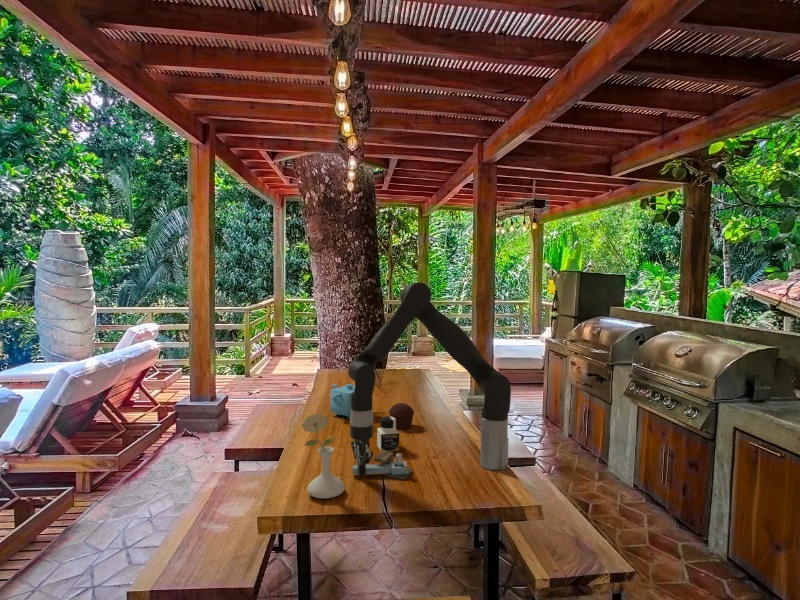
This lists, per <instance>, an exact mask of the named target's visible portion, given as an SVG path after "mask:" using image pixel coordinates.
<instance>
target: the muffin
mask: <svg viewBox="0 0 800 600" xmlns="http://www.w3.org/2000/svg"><path fill="white" fill-rule="evenodd" d="M388 414H389V416H391V417H394V418H395V419H396V429H397V430H401V429H402V430H409V429H410V428H411V427H412V425H413V420H414V414H415V411H414V409H413V408H412V406H411V405H409V404H408V403H404V402H398V403H395V404H393V405H392V406H391V407H390V408H389V410H388Z"/></svg>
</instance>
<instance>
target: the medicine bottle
mask: <svg viewBox="0 0 800 600" xmlns="http://www.w3.org/2000/svg"><path fill="white" fill-rule="evenodd" d="M379 420H380V421H379V422H380V423H379V427H377V428H376V434H377V435H376V446H377V447H378V449H379V451H380V453H381V452H382V451H387V452H395V451H399V450H400V432H399V431H398V429H396V419H395V418H394V417H391V416H390V415H389V416H387V415H385V416H383V417H381V418H380V419H379Z"/></svg>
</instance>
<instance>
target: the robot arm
mask: <svg viewBox="0 0 800 600" xmlns="http://www.w3.org/2000/svg"><path fill="white" fill-rule="evenodd" d="M399 299H400V302H401V303H400V305H399V306H398V307H397V309H396V311H395V312H394V313H393V315H392V316H391V317H390V318H389V319H388V320H387V321H386V322H385V323H384V324H383V326H382V327H380V329H379V330H378V331H377V332H376V334H375V335H374V336H373V338H372V339H371V340H370V342H369V343H368V345H367V347H366V348H365V349H363V350H362V351H361V352H360V353H359V354H358V355H357V356H356V357H355V358H354V359H353V360H352V362H351V363H350V365H349V366H348V367H349V368H348V370H347V371H348V372H347V373H348V376H349V378H350V379H351V380H352V381H354V385H355V391H353V392H352V394H351V413H350V419H349V424H350V425H349V436H350V438H351V439H353V441H351V442H350V446H351V449H352V454H353V457H354V459H355V460H356V463H357V465H358V474H357V475H359V476H360V477H362V476H366V475H367V474H366V465H369V464H370V462H371V460H372V457H373V456H374V452H373V451H372V450H370V446H371V444H370V439H372V438H373V436H374V412H373V394H374V390H375V384H376V378H377V377H376V371H375V368H374V367H375V365H376V364H377V363H379V362H383V361H384V360H385V358H387V356H388V354H389V353H390V352H391V350H392V349H393V348H394V346H395V345H396V344H397V342H398V340H399V338H400V337H401V336H402V334H403V333H404V332H405V331H406V329H407V328H408V326H409V325H410V324H411V323H412V322H413V321H414V320H415V319H417V320H418V321H419V322H420V323H421V324H422V325H423V326H424V327H425V328H426V329H427V331H428V332H429V333H430V334H431V335H432V337H433V338H434V339H435V340H436V341H437V342H438V343H439V345H440V346H441V347H442V348H443V349H444V351H445V352H446V353H447V354H448V355H449V356H450V357H451V358H452V359H453V360H454V361H456V362H457V363H458V364H459V365H460V366H461V367H463V368H464V369H465V370H466V371H467V372H468V373H469V375H470V376H471V378H472V379H473V380H474V381H475V382H476V384H477V385H478V387H479V388H480V390H481V391H482V392H483V393H484V398H483V400H484V403H483V404H484V405H483V407H482V408H481V410H480V412H481V413H480V415H481V416H480V418H481V419H480V464H479V465H480V466H481V467H482V468H484V469H487V470H492V471H502V470H503V471H506V470H507V467H508V465H509V437H508V427H509V426H508V425H509V420H508V418H509V413H510V410H511V396H512V395H511V394H512V388H511V382H510V380H509V378H508V377H506V376H505V375H504V374H502V373H501V372H499V371H498V370H497V369H495V368H494V367H493V366H492V365H491V364H490V363H489V362H487V361H486V359H485V358H483V356H482V355H481V353H480V351H479V349H478V348H477V347H476V345H475V343H474V342H473V341H472V339H471V338H470V337H469V336H468V334H467V333H466V332H465V331H464V330H463V329H462V327H460V326H459V325H458V324H457V323H456V322H454V321H453V320H452V319H450V318H449V317H448V316H446V315H445V314H443V313H442V312H440V311H439V310H438V309H437V308H436V307H435V306H434V304H432V302H431V300H432V289H431V288H430V287H429V286H428V284H426V283H425V282H419V281H417V282H413V283H410V284H408V285H406V286H404V287H403V288H402V290H401V291H400V293H399Z"/></svg>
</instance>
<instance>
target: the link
mask: <svg viewBox="0 0 800 600" xmlns="http://www.w3.org/2000/svg"><path fill="white" fill-rule="evenodd" d="M408 467H409V466H408V464H407V461H406V460H405V461H403V460H402V467H396V461H393V462H391V464H381V463H380V464H379V463H378V464H376V463H375V464H366V474H365V475H375V474H376V475H377V474H378V475H380V474H381V475H382V474H384V475H385V474H386V473H392V475H398V474H408V469H409V468H408ZM353 475H357V476H358V475H359V474H358V464H354V465H353V464H352V476H353Z"/></svg>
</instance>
